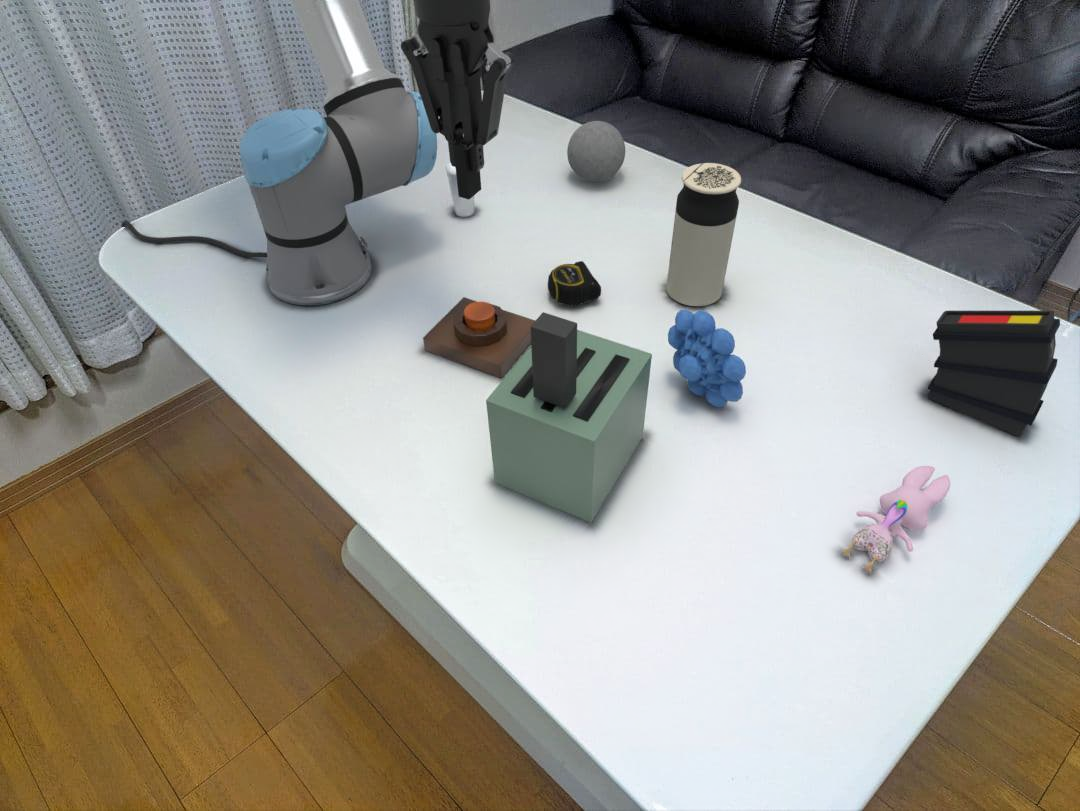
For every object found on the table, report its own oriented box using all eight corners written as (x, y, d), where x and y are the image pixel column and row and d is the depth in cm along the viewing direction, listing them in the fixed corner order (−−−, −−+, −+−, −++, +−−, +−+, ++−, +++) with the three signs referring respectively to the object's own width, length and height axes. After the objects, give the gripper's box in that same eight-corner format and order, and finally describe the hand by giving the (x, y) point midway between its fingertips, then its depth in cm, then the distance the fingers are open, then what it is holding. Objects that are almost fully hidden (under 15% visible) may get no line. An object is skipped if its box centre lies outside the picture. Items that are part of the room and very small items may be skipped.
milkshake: (459, 224, 120) (453, 167, 113) (447, 209, 124) (440, 153, 117) (484, 217, 122) (479, 160, 115) (471, 202, 125) (466, 146, 118)
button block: (424, 350, 98) (420, 327, 95) (465, 309, 104) (462, 286, 102) (501, 378, 94) (499, 355, 91) (538, 333, 100) (538, 310, 97)
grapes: (641, 384, 93) (648, 309, 84) (678, 361, 96) (689, 286, 87) (711, 436, 86) (727, 360, 78) (748, 409, 89) (768, 333, 81)
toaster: (494, 482, 82) (485, 398, 73) (553, 403, 91) (551, 319, 81) (591, 523, 78) (594, 440, 69) (642, 436, 86) (652, 352, 77)
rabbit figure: (880, 591, 73) (963, 497, 78) (893, 564, 68) (981, 466, 73) (825, 551, 76) (909, 463, 81) (835, 523, 72) (923, 431, 77)
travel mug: (732, 289, 106) (755, 174, 93) (701, 315, 102) (720, 199, 89) (686, 268, 110) (703, 155, 97) (655, 292, 106) (667, 178, 93)
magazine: (1056, 443, 82) (1049, 326, 75) (930, 429, 92) (914, 325, 85) (1065, 424, 84) (1059, 308, 77) (940, 412, 94) (926, 309, 87)
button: (459, 325, 96) (457, 314, 95) (475, 308, 99) (474, 298, 97) (485, 334, 95) (484, 323, 94) (501, 317, 97) (500, 306, 96)
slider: (533, 397, 72) (530, 326, 66) (544, 382, 74) (542, 311, 68) (565, 409, 71) (565, 338, 65) (576, 393, 73) (577, 322, 66)
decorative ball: (627, 167, 132) (631, 113, 125) (619, 195, 126) (622, 139, 119) (573, 163, 134) (573, 108, 127) (562, 190, 127) (561, 134, 120)
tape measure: (602, 304, 104) (603, 283, 102) (556, 314, 103) (556, 293, 100) (585, 278, 109) (586, 256, 106) (541, 287, 108) (541, 266, 105)
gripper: (371, -27, 71) (407, 194, 88) (485, -8, 66) (500, 221, 83) (417, -47, 75) (442, 166, 92) (527, -31, 71) (533, 191, 87)
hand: (470, 192), depth 88 cm, fingers closed
